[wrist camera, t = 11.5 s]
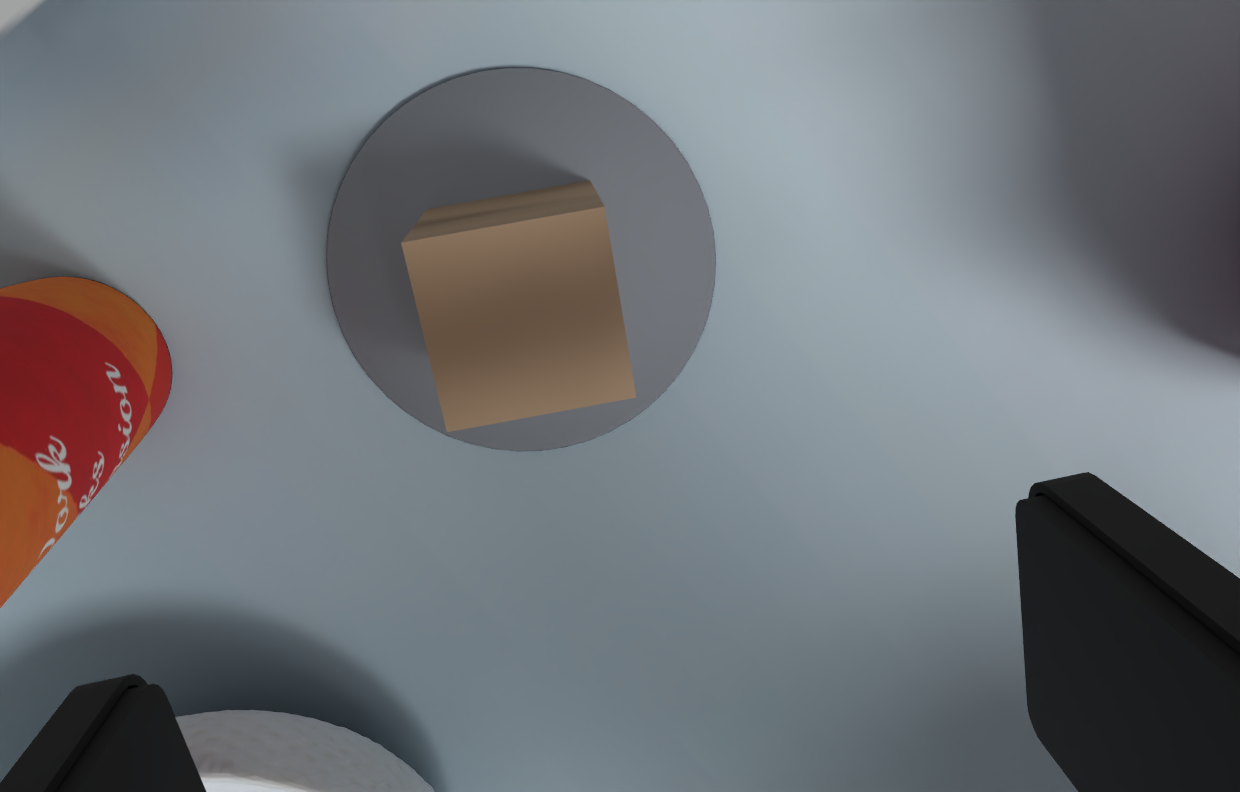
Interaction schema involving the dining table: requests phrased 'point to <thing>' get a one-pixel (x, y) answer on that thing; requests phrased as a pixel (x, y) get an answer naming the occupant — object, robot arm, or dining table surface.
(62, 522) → the paper cup
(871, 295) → the dining table surface
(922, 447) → the dining table surface
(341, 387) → the dining table surface
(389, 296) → the disc
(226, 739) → the cereal bowl
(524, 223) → the walnut block
